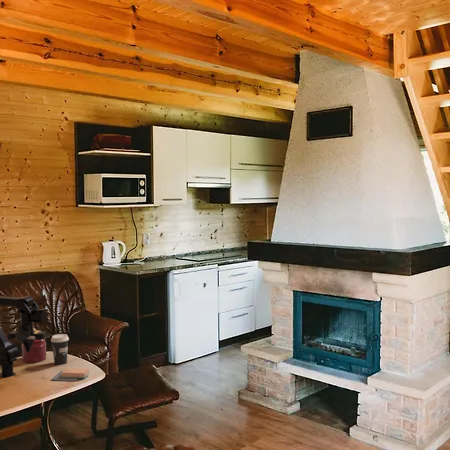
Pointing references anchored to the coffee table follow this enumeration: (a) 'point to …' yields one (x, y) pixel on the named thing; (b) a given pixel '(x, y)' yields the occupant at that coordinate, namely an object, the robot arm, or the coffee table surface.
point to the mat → (59, 378)
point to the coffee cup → (60, 348)
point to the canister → (35, 351)
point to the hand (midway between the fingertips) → (28, 352)
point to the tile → (74, 373)
